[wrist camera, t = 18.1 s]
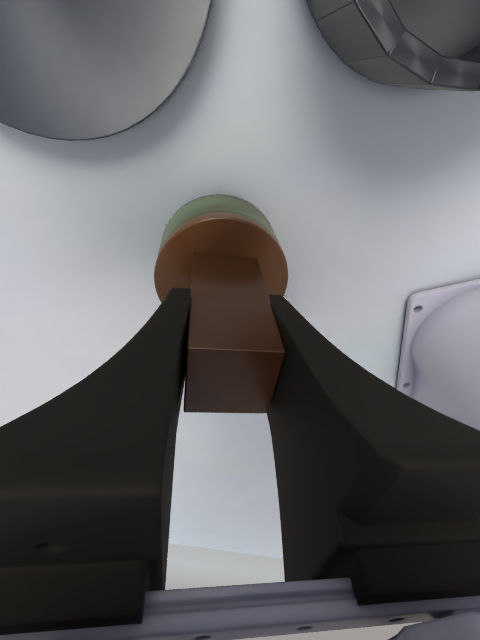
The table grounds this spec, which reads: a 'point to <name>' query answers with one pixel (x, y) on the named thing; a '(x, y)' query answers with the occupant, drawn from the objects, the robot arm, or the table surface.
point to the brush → (226, 301)
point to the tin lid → (93, 62)
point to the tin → (406, 40)
